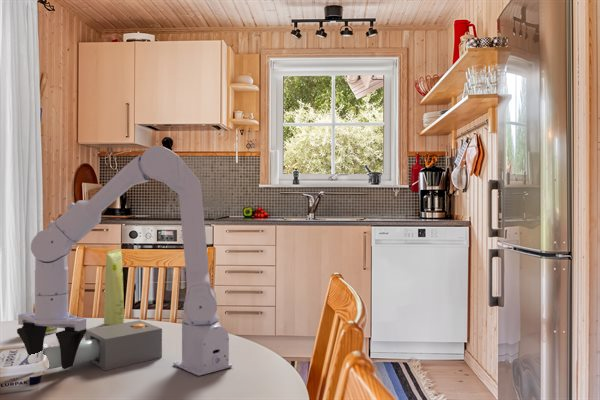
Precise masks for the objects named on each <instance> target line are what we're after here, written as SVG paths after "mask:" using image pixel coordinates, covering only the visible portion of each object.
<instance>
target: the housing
mask: <svg viewBox="0 0 600 400" xmlns="http://www.w3.org/2000/svg"><path fill="white" fill-rule="evenodd" d="M134 324H145V327H143V328H138V329H135V328H133V325H134ZM84 336H85V337H84V341H86V340H91V339H99V340H100V359H96V360H91V363H92V364H94V365H95V366H97V367H99V368H100V369H102V370H104V371H108V370H114V369H117V368H121V367H126V366H130V365H133V364H138V363H143V362H147V361H152V360H156V359H161V358H162V357H163V329H162V327H158V326H156V325H153V324H150V323H147V322H145V321H143V320H140V319H139V320H134V321H128V322H123V323H121V324H115V325H104V326H99V327H97V326H96V327H93V328H86V333H85V335H84Z"/></svg>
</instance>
